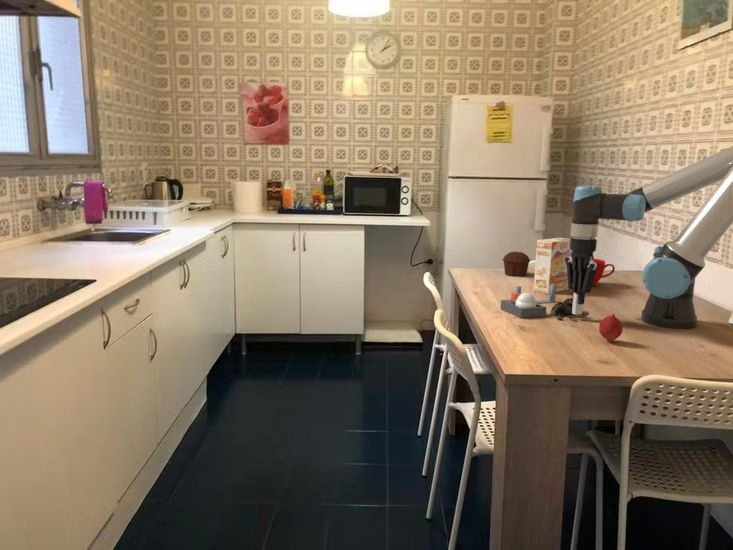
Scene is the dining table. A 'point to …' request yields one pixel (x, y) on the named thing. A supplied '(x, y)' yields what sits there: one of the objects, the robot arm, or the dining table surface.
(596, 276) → the ceramic cup
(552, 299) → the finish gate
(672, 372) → the dining table surface
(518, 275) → the muffin
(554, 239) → the coffeecake box
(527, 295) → the dome
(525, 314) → the dome base
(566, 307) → the stuffed animal
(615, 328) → the onion
